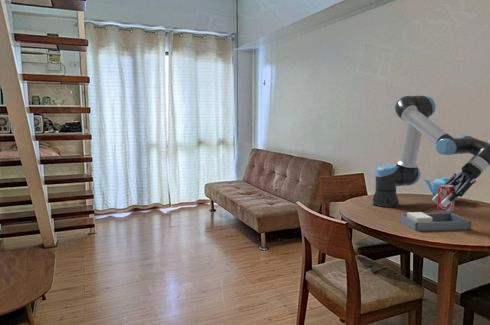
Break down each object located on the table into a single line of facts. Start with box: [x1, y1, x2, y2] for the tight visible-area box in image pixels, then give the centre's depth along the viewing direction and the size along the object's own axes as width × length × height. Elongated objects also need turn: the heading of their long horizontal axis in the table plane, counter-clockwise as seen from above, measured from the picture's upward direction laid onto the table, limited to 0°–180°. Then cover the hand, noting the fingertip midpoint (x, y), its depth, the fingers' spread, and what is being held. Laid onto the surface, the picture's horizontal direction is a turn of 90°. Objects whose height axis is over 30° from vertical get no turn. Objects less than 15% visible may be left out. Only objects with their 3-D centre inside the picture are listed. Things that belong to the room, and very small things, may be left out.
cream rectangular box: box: [406, 211, 433, 223], centre depth 166 cm, size 7×10×5 cm
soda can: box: [437, 184, 456, 213], centre depth 165 cm, size 7×7×12 cm
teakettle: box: [422, 177, 458, 202], centre depth 215 cm, size 19×19×15 cm
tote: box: [399, 212, 472, 232], centre depth 166 cm, size 25×16×4 cm, turn 91°
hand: (438, 203), depth 165 cm, fingers closed on soda can, 7 cm apart
